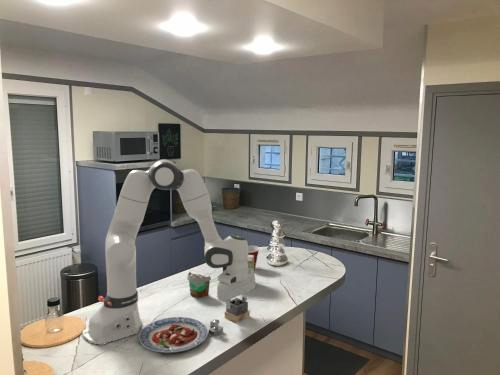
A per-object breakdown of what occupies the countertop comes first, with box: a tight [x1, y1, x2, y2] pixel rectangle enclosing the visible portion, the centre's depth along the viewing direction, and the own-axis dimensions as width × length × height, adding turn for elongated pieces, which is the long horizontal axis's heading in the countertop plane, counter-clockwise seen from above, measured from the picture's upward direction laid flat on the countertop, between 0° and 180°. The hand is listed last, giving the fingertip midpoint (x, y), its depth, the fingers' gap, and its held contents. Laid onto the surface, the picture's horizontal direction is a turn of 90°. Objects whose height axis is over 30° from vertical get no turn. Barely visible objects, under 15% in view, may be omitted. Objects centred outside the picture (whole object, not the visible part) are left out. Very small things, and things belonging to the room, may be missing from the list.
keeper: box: [224, 298, 251, 324], centre depth 171 cm, size 8×7×8 cm
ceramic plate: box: [138, 316, 209, 354], centre depth 155 cm, size 26×26×3 cm
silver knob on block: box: [208, 319, 224, 338], centre depth 158 cm, size 5×3×5 cm, turn 139°
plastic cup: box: [248, 245, 260, 270], centre depth 227 cm, size 11×11×12 cm
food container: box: [186, 271, 212, 299], centre depth 191 cm, size 12×6×10 cm, turn 62°
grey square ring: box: [225, 297, 249, 316], centre depth 171 cm, size 6×6×4 cm
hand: (237, 304), depth 171 cm, fingers open, 8 cm apart
